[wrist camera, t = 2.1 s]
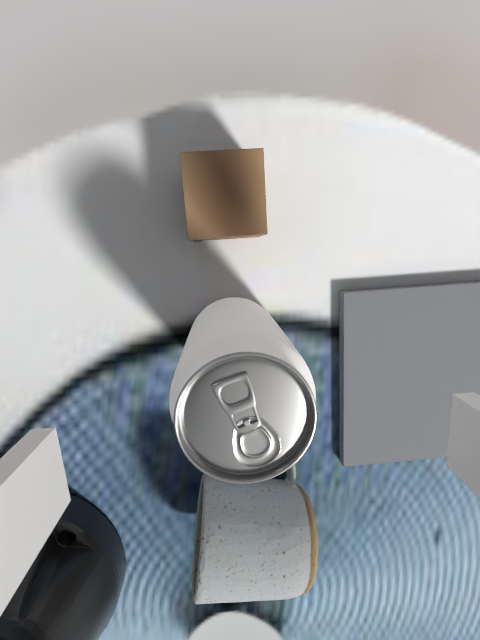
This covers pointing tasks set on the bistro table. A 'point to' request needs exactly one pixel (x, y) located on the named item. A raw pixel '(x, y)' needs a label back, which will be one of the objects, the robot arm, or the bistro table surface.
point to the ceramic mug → (253, 541)
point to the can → (241, 395)
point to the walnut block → (224, 194)
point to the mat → (404, 368)
